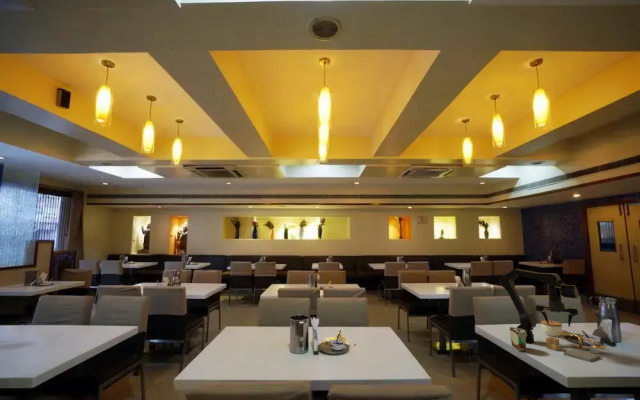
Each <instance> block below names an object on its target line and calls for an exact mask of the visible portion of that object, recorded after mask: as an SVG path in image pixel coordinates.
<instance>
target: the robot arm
mask: <svg viewBox="0 0 640 400" xmlns="http://www.w3.org/2000/svg"><path fill="white" fill-rule="evenodd" d="M518 277H521V278H528V279H533V280H538V281H540V282H543V283H545V284H544V285H543V286H542V288H546V289H547V295H548V301H549V302H548V306H545V304H536V305H535V311H537V312H539V313H541V315H542V316H543V318H544V319H545V320H544V321H546V322H547V324H549V321H550V320H549V316H548V313H547V312H548V311H549V312H552V313H553V312H554V313H561V312H563V313H568V315H567V316H568V319H567V320H568V322H567V324H568V328H570V327H571V324H572V319H573V317H575V316H578V315H579V308H578V307H572V306H571V307H570V306H569V307H568V308H566V306H565V305H566V304H565V303H564V302H563V300H562V297H563V298H569V299H576V300H577V299H578V298H579V295H580V294H579V291H578V288H577V286H576V285H575V284H573V285H571V284H570V285H569V284H566V283H565V282H563V280H562V279H561V277H560V275H559V274H558V273H549V272H537V271H530V270H523V269H519V268H516V269H515V268H514V269H512V270H511V271H509V272H508V273H506V274H505V275H501V276H500V277H498V283H499V284H500V285H501V286H502V288H504V289H505V290H506V292H507V293H508V295H509V297H510V300H511V301H512V303H513V305H514V307H515V309H516V311H517V313H518V318H519V319H518V320H519V322H520V323H519V325H517V326H516V328H519V329H523V330H525V331H526V333H527V336H526V344H532V343H536V341H535V336H534V333H533V331H534V328H535V327H536V326H537V319H535V317H534V314H533V313H531V314H530V313H529V312H528V310H527V308H526V307H525V305H524V304H523V301H522V299H521V297H520V295H519V293H518V291H517V290H516V286H515V280H516V279H517V278H518Z"/></svg>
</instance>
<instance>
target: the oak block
mask: <svg viewBox="0 0 640 400" xmlns="http://www.w3.org/2000/svg"><path fill="white" fill-rule="evenodd" d="M545 346H546V348H545V349H548V350H551V351H560V350H561V347H560V346H561V345H560V339H559V338H558V337H552V336H547V337H545Z"/></svg>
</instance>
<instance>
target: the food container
mask: <svg viewBox="0 0 640 400" xmlns="http://www.w3.org/2000/svg"><path fill="white" fill-rule="evenodd" d="M509 333H510V342H511V347H513V348H514V349H515V350H516V351H517V352H519V353H522V352H523V353H524V352H526V351H527V343H526V336H527V333H526V331H525V330H523V329H519V328H517V327H513V326H512V327H511V326H509Z"/></svg>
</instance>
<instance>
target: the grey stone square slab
mask: <svg viewBox="0 0 640 400" xmlns="http://www.w3.org/2000/svg"><path fill="white" fill-rule="evenodd" d="M563 355H564V356H567V357H571V358H574V359H577V360H578V359H579V360H582V361H584V360H585V362H588V361H589V363H591V362H593V361H595V360H599V359H601V355H598V354H596V353H591V352H588V351H585V350H581V349H577V348H573V349H570V350H566V351H563Z"/></svg>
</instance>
